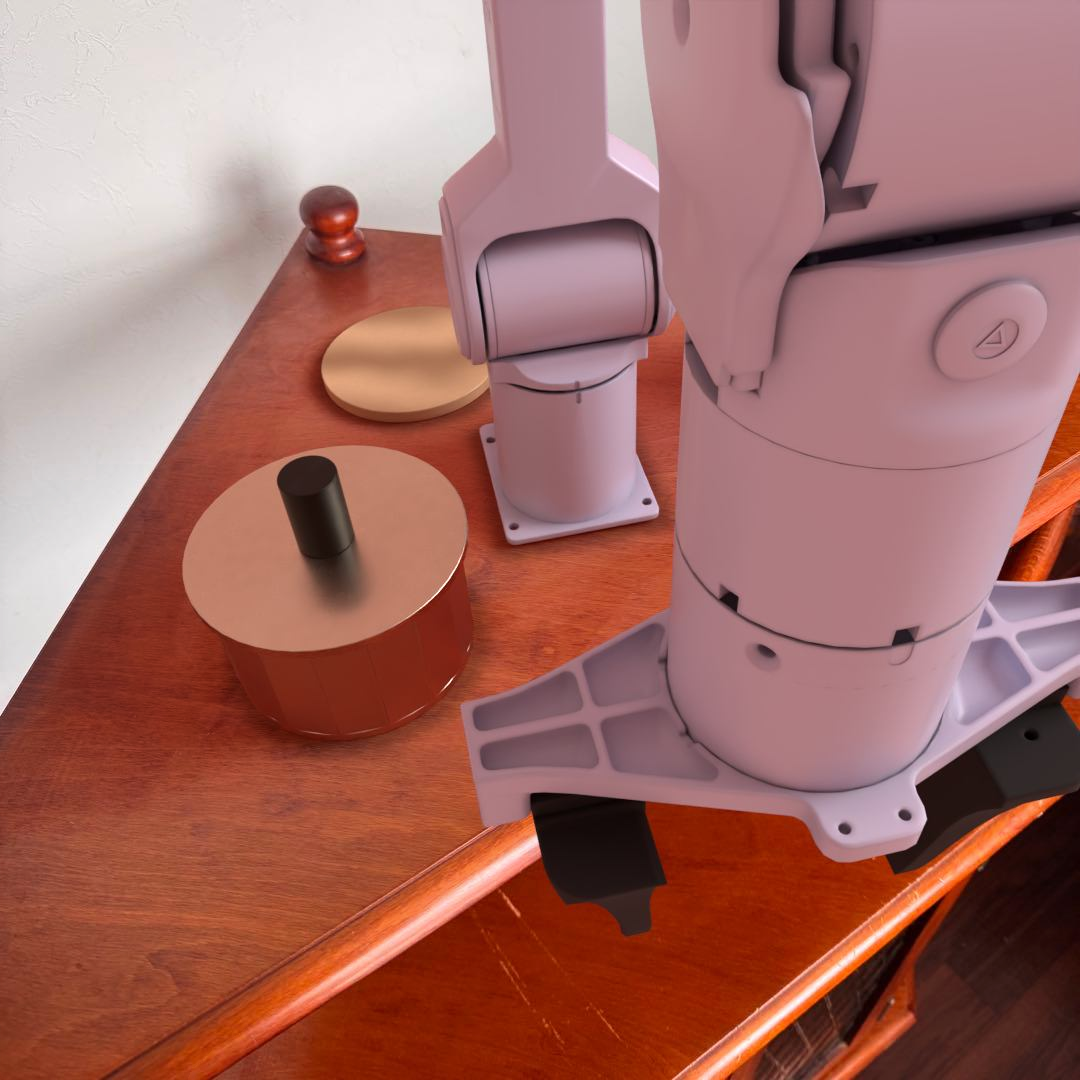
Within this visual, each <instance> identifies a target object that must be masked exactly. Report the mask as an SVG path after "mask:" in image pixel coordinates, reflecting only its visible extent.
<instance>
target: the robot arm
mask: <svg viewBox="0 0 1080 1080" xmlns="http://www.w3.org/2000/svg"><path fill="white" fill-rule="evenodd" d="M481 2H482V13H483V22H484V23H483V24H484V35H485V42H486V52H487V63H488V74H489V82H490V83H489V84H490V93H491V102H492V103H491V104H492V113H493V123H494V124H493V125H494V134H493V136H492V138H490V140H489V141H488V142H487V143H486V144H485V145H484V146H483V147H482V148H480V149H479V151H477V152H476V153H475V154H474V155H473V156H471V158H470V159H469V160H468V161H467V162H465V163H464V164H463V165H462V166H461V167H460V168H458V170H456V171H455V172H453V174H452V175H450V176H449V178H448V179H447V180H446V181H445V182H444V183H443V185H442V186H441V192H442V196H441V197H440V198H439V200H438V201H437V202H438V210H439V211H438V212H439V218H440V225H441V226H440V227H441V233H442V235H441V236H440V249H441V259H442V264H443V265H442V266H443V272H444V279H445V285H446V293H447V298H448V302H449V308H450V309H451V315H452V320H453V325H454V330H455V335H456V340H457V344H458V348H459V352H460V354H461V355H462V356H464V357H465V358H466V359H468V360H470V362H471V363H472V364H473V365H481V364H485V362H486V365H487V370H488V378H489V386H490V387H489V394H490V402H491V410H492V420H493V422H491V423H490V422H489V423H486V424H483V425H482V426H480V427H479V438H480V442H481V445H482V450H483V454H484V456H485V461H486V466H487V469H488V472H489V473H488V474H489V476H490V481H491V484H492V488H493V493H494V496H495V499H496V500H495V501H496V505H497V508H498V512H499V516H500V521H501V524H502V528H503V532H504V536H505V540H506V542H507V543H508V544H509V545H512V546H518V545H519V546H520V545H523V544H524V545H525V544H529V543H535V542H540V541H545V540H550V539H556V538H561V537H566V536H572V535H578V534H582V533H588V532H589V533H590V532H594V531H598V530H605V529H609V528H614V527H619V526H625V525H630V524H636V523H642V522H646V521H651V520H655V519H656V518H658V517H659V515H660V507H659V504H658V502H657V499H656V497H655V495H654V492H653V490H652V488H651V485H650V482H649V480H648V478H647V475H646V474H645V471H644V468H643V465H642V463H641V461H640V459H639V456H638V454H637V392H638V391H637V390H638V389H637V383H638V381H637V379H638V361H643V360H646V359H648V358H649V354H648V353H649V338H651V337H657V336H662V335H663V334H664V333H665V332H666V331H667V329H668V327H669V324H670V322H671V321H672V320H673V319H674V317H675V315H676V313H677V316H678V317H679V319H680V320H681V323H682V325H683V326H684V339H683V342H684V343H683V358H682V378H681V380H682V381H681V396H680V397H681V399H680V415H679V417H680V418H679V433H678V453H677V455H678V456H677V473H676V475H677V476H676V490H675V492H676V493H675V510H674V511H675V512H674V513H675V516H674V528H673V531H674V532H673V548H672V564H671V566H672V567H671V584H670V585H671V586H670V602H669V603H670V604H669V607H667V608H665V609H663V610H661V611H659V612H657V613H656V614H654V615H652V616H651V617H648V618H647V619H645V620H643V621H641V622H639V623H638V624H635V625H634V626H632V627H630V628H628V629H626V630H624V631H623V632H621V633H619V634H617V635H615V636H613V637H612V638H611V637H610V638H609V639H607V640H606V641H604V642H602V643H600V644H598V645H597V646H595V647H593V648H591V649H589V650H587V651H585V652H583V653H582V654H580V655H578V656H576V657H574V658H572V659H570V660H568V661H567V662H565V663H562V664H561V665H559V666H558V667H556V668H554V669H552V670H550V671H548V672H546V673H544V674H542V675H540V676H537V677H534V678H532V679H531V680H529V681H527V682H526V683H525V682H524V683H523V684H521V685H518V686H516V687H514V688H511V689H508V690H506V691H502V692H500V693H497V694H493V695H492V694H491V695H488V696H485V697H480V698H477V699H473V700H468V701H464V702H462V703H461V704H460V705H459V706H460V713H461V719H462V725H463V729H464V730H463V731H464V734H465V740H466V745H467V751H468V758H469V762H470V769H471V773H472V779H473V785H474V788H475V794H476V798H477V804H478V809H479V814H480V819H481V823H482V826H483V827H484V828H492V827H497V826H501V825H505V824H510V823H515V822H520V821H523V820H524V819H527V818H528V817H529V816H530V814H531V815H532V819H533V824H534V829H535V834H536V838H537V842H538V847H539V851H540V857H541V861H542V864H543V869H544V872H545V874H546V876H547V879H548V881H549V882H550V884H551V887H552V888H553V889H554V891H555V892H556V894H557V896H558V897H559V898H560V899H561V901H562V902H563V903H564V904H565V906H570V905H578V904H585V903H588V904H589V903H590V904H594V905H597V906H600V907H601V908H603V909H605V910H606V911H607V912H608V914H610V915H611V916H612V917H613V918H614V920H616V922H617V923H618V925H619V929H620V932H621V934H622V935H623V936H624V937H626V938H628V937H632V936H637V935H640V934H645V933H648V932H649V931H650V930H651V929H652V926H653V924H652V913H651V899H652V896H653V893H654V892H655V889H656V888H658V887H663V886H666V885H668V881H667V877H666V874H665V870H664V868H663V864H662V862H661V858H660V855H659V854H660V853H659V851H658V848H657V844H656V841H655V837H654V836H653V831H652V830H651V826H650V823H649V820H648V816H647V813H646V810H647V802H649V803H661V804H669V805H679V806H690V807H701V808H708V809H709V808H710V809H719V810H730V811H738V812H739V811H740V812H747V813H749V812H750V813H759V814H768V815H777V816H778V815H779V816H785V817H787V816H788V817H793V818H796V819H798V820H800V821H801V822H803V823H804V824H805V825H806V826H807V829H808V831H809V833H810V835H811V837H812V840H813V842H814V844H815V845H816V847H817V848H818V849H819V851H820V852H821V853H822V855H823V856H825V857H827V858H828V859H830V860H832V861H833V862H836V863H855V862H858V861H862V860H867V859H873V858H876V857H881V856H885V858H886V861H887V862H888V864H889V866H890V868H891V870H892V872H893V875H894V876H895V875H900V874H904V873H909V872H913V871H916V870H919V869H921V868H923V867H924V866H926V865H927V864H930V862H932V861H933V860H935V859H936V858H937V857H938V856H940V855H941V854H942V853H944V852H945V851H946V850H947V849H949V848H950V847H952V846H953V845H954V844H956V843H957V842H958V841H960V840H961V839H962V838H964V837H965V836H967V835H968V834H970V833H972V832H973V831H974V830H975V829H977V828H978V827H980V826H982V825H983V824H985V823H987V822H988V821H991V820H992V819H995V818H996V817H998V816H1000V815H1002V814H1004V813H1006V812H1008V811H1011V810H1013V809H1015V808H1017V807H1019V806H1022V805H1024V804H1028V803H1033V802H1037V801H1038V802H1039V801H1041V800H1047V799H1051V798H1055V797H1059V796H1064V795H1068V794H1071V793H1074V792H1077V791H1079V789H1080V728H1079V727H1078V725H1077V724H1076V722H1075V721H1074V720H1073V718H1072V717H1071V715H1070V714H1069V713H1068V711H1067V709H1066V708H1065V707H1064V705H1063V704H1062V702H1063V701H1064V699H1065V697H1069V698H1071V699H1074V700H1078V699H1079V700H1080V576H1075V577H1068V578H1061V579H1054V580H1043V581H1042V580H1041V581H1015V580H1012V581H1010V580H998V577H999V575H1000V572H1001V570H1002V567H1003V565H1004V562H1005V560H1006V558H1007V555H1008V553H1009V551H1010V548H1011V545H1012V542H1013V540H1014V538H1015V535H1016V532H1017V531H1018V528H1019V525H1020V522H1021V520H1022V518H1023V515H1024V514H1025V513H1024V512H1025V511H1026V508H1027V505H1028V503H1029V500H1030V497H1031V496H1032V492H1033V490H1034V487H1035V485H1036V483H1037V480H1038V479H1039V478H1038V477H1039V475H1040V473H1041V470H1042V468H1043V465H1044V462H1045V461H1046V457H1047V455H1048V452H1049V450H1050V448H1051V445H1052V442H1053V440H1054V438H1055V435H1056V433H1057V430H1058V428H1059V426H1060V423H1061V420H1062V417H1063V415H1064V413H1065V411H1066V408H1067V405H1068V402H1069V401H1070V397H1071V395H1072V392H1073V390H1074V387H1075V385H1076V383H1077V380H1078V378H1079V375H1080V0H639V9H640V23H641V35H642V46H643V54H644V63H645V73H646V80H647V81H646V82H647V88H648V94H649V101H650V107H651V108H650V109H651V114H652V119H653V127H654V133H655V134H654V135H655V143H656V156H657V166H658V169H657V167H656V165H655V164H654V163H653V162H652V161H651V159H650V158H649V157H648V156H647V155H646V154H644V152H642V151H640V150H638V148H636V147H634V146H632V145H630V144H629V143H627V142H625V140H622V139H620V138H619V137H618V136H616V135H614V134H612V133H611V132H609V101H608V96H609V95H608V92H609V91H608V59H607V58H608V57H607V56H608V55H607V53H608V52H607V50H608V49H607V17H606V16H607V15H606V14H607V13H606V11H607V10H606V9H607V8H606V0H481Z"/></svg>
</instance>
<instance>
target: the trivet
mask: <svg viewBox="0 0 1080 1080" xmlns="http://www.w3.org/2000/svg"><path fill="white" fill-rule="evenodd" d="M320 373H321V379H322V382H323V385H324V389H325V391H326V393H327V395H328V396H329V398H330V399H331V400H332V402H334V403H335V404H336V405H337V406H338V407H339V408H341V409H343V410H344V411H345V412H348V413H349V414H352V415H353V416H355V417H356V416H357V417H359V418H362V419H366V420H370V421H375V422H382V423H413V422H420V421H426V420H431V419H435V418H438V417H442V416H445V415H448V414H451V413H453V412H455V411H458V410H460V409H462V408H464V407H465V406H467V405H469V404H471V403H472V402H474V401H475V400H477V399H478V398H479V397H481V396H482V395H483V394H484V393H485V392H486V391H487V390H488V389H490V386H489V378H488V370H487V365H486V362H485V364H481V365H473V364H472V363H471V362H470V360H468V359H466V358H465V357H464V356H462V355H461V354H460V352H459V348H458V344H457V340H456V335H455V330H454V325H453V320H452V315H451V309H450V307H443V306H435V305H434V306H433V305H431V306H430V305H419V306H407V307H400V308H394V309H390V310H386V311H383V312H380V313H377V314H374V315H371V316H368V317H366V318H363V319H362V320H359V321H358V322H356V323H354V324H352V325H350V326H348V328H347V329H344V330H343V331H342V332H341V333H340V334H339V335H338V336H336V337H335V338H334V340H333V341H331V343H330V344H329V345H328V347H327V348H326V350H325V352H324V354H323V357H322V360H321V365H320Z"/></svg>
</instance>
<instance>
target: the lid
mask: <svg viewBox="0 0 1080 1080" xmlns="http://www.w3.org/2000/svg"><path fill="white" fill-rule="evenodd" d="M467 515H468V514H467V510H466V508H465V505H464V502H463V500H462V498H461V496H460V494H459V492H458V490H457V489H456V487H455V486H454V485H453V484H452V483H451V481H450V480H449V478H447V477H446V476H445V475H444V474H443V473H441V471H439V470H438V469H437V468H436V467H434V466H432V465H431V464H429V463H428V462H426V461H424V460H422V459H420V458H418V457H417V456H414V455H411V454H408V453H406V452H402V451H400V450H395V449H391V448H387V447H381V446H373V445H359V444H358V445H356V444H350V445H349V444H348V445H334V446H327V447H325V446H324V447H319V448H314V449H309V450H305V451H301V452H297V453H294V454H291V455H288V456H285V457H282V458H280V459H277V460H275V461H271V462H269V463H268V464H266V465H264V466H261V467H259V468H257V469H256V470H253V471H252V472H249V474H247V475H245V476H243V477H242V478H240V479H239V480H237V481H236V482H235V483H233V484H232V485H231V486H229V487H228V488H226V489H225V490H224V491H223V492H222V493H221V494H220V495H219V496H218V497H217V498H216V499H214V500H213V502H212V503H211V504H210V505H209V506H208V507H207V509H206V510H205V511H203V513H202V515H201V516H200V518H199V519H198V521H196V523H195V525H194V527H193V529H192V531H191V532H190V535H189V537H188V539H187V542H186V545H185V548H184V552H183V559H182V565H181V566H182V571H181V572H182V582H183V587H184V590H185V593H186V595H187V599H188V600H189V602H190V605H191V606H192V609H193V611H194V612H195V613H196V615H197V617H198V618H199V619H200V620H201V622H202V623H203V624H204V625H205V626H206V627H207V628H208V629H209V630H210V631H211V632H213V633H214V634H215V635H217V636H218V637H219V636H220V637H221V638H223V639H224V640H226V641H227V642H230V643H232V644H234V645H236V646H238V647H240V648H242V649H245V650H249V651H252V652H255V653H258V654H263V655H269V656H274V657H284V658H317V657H323V656H330V655H337V654H341V653H345V652H349V651H353V650H357V649H360V648H363V647H366V646H368V645H371V644H374V643H377V642H379V641H381V640H383V639H385V638H387V637H390V636H392V635H394V634H396V633H397V632H399V631H401V630H402V629H404V628H406V627H407V626H409V625H411V624H412V623H413V622H415V621H416V620H417V619H419V618H420V617H421V616H423V615H424V614H425V613H427V612H428V611H429V610H430V609H431V608H432V607H433V606H434V605H435V604H436V603H437V602H438V601H439V600H440V599H441V598H442V596H443V595H444V594H445V593H446V592H447V590H448V589H449V588H450V587H451V585H452V583H453V582H454V580H455V578H456V577H457V575H458V573H459V571H460V569H461V566H462V564H464V561H465V559H466V554H467V551H468V546H469V532H470V531H469V523H468V517H467Z"/></svg>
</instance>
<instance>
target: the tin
mask: <svg viewBox="0 0 1080 1080" xmlns="http://www.w3.org/2000/svg"><path fill="white" fill-rule="evenodd" d="M474 631H475V624H474V618H473V611H472V607H471V600H470V594H469V587H468V582H467V576H466V571H465V563H463V564H462V566H461V569H460V571H459V573H458V575H457V577H456V578H455V580H454V582H453V583H452V585H451V587H450V588H449V589H448V590H447V592H446V593H445V594H444V595H443V596H442V598H441V599H440V600H439V601H438V602H437V603H436V604H435V605H434V606H433V607H432V608H431V609H430V610H429V611H428V612H427V613H425V614H424V615H423V616H421V617H420V618H419V619H417V620H416V621H415V622H413V623H412V624H411V625H409V626H407V627H406V628H404V629H402V630H401V631H399V632H397V633H396V634H394V635H392V636H390V637H387V638H385V639H383V640H381V641H379V642H377V643H374V644H371V645H368V646H366V647H363V648H360V649H357V650H353V651H349V652H345V653H341V654H337V655H330V656H323V657H317V658H284V657H274V656H269V655H263V654H258V653H255V652H252V651H249V650H245V649H242V648H240V647H238V646H236V645H234V644H232V643H230V642H227V641H226V640H224V639H223V638H221V637H220V636H218V639H219V640H220V643H221V645H222V647H223V649H224V651H225V654H226V656H227V658H228V660H229V662H230V664H231V666H232V669H233V671H234V673H235V675H236V677H237V679H238V681H239V682H240V684H241V686H242V687H243V689H244V692H245V693H246V695H247V698H248V699H249V700H250V702H251V703H252V705H253V706H254V707H255V709H256V710H257V711H258V712H259V713H260V714H261V715H262V716H263V717H264V718H266V719H267V720H268V721H270V722H272V724H274V725H275V726H277V727H279V728H281V729H283V730H285V731H287V732H289V733H292V734H294V735H298V736H300V737H305V738H309V739H315V740H323V741H353V740H358V739H366V738H369V737H374V736H378V735H382V734H385V733H387V732H390V731H393V730H395V729H398V728H400V727H402V726H404V725H406V724H408V723H410V722H412V721H414V720H415V719H418V718H419V717H420V716H421V715H424V714H425V713H427V712H428V711H429V710H430V709H432V707H434V706H436V705H437V704H438V703H439V702H440V701H441V700H442V699H443V698H444V697H445V696H446V695H447V694H448V693H449V692H450V691H451V690H452V688H453V686H455V684H456V682H457V681H458V680H459V678H460V676H461V675H462V673H463V672H464V669H465V668H466V665H467V663H468V660H469V657H470V655H471V651H472V647H473V641H474Z"/></svg>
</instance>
